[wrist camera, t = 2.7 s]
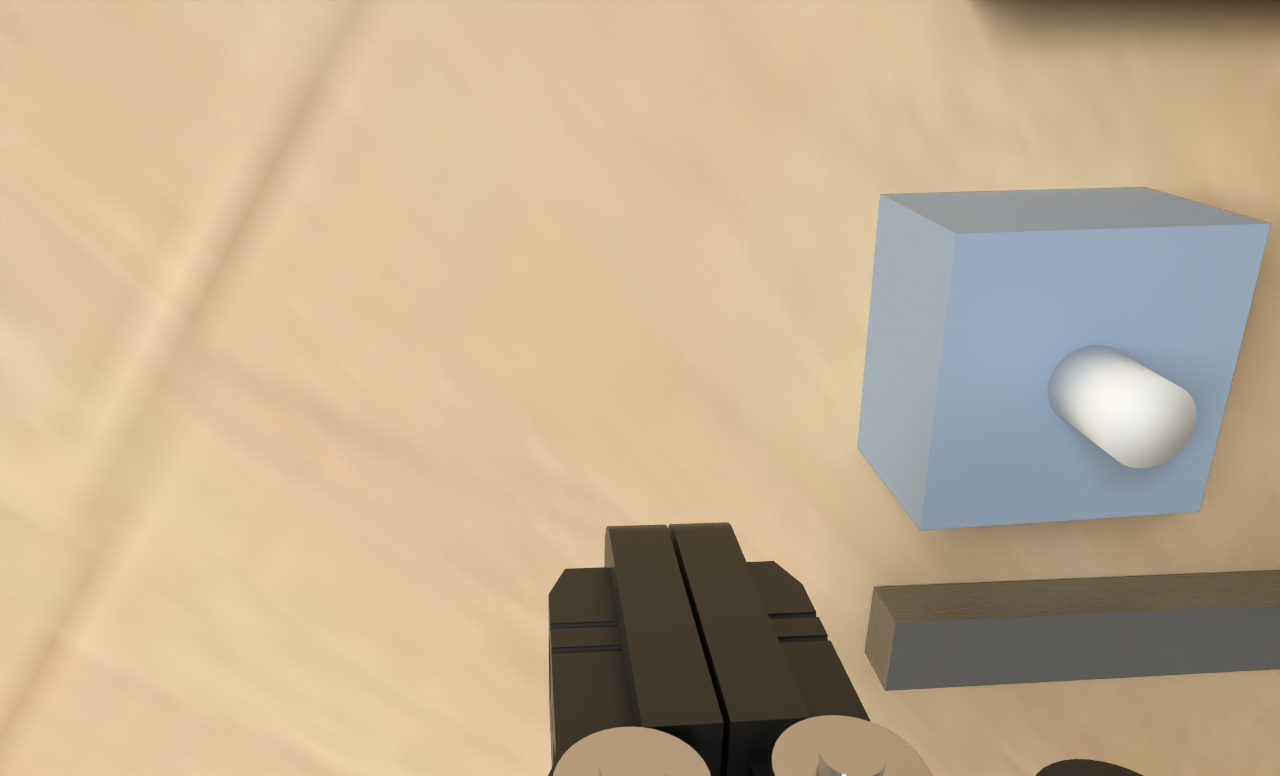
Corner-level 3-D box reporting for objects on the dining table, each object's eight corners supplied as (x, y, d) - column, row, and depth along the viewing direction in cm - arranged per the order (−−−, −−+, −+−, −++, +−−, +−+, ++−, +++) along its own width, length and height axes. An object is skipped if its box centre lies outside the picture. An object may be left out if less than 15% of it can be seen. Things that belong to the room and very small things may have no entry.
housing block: (877, 192, 20) (1010, 262, 15) (1138, 185, 21) (1360, 249, 15) (854, 444, 23) (963, 587, 17) (1091, 431, 23) (1270, 564, 18)
